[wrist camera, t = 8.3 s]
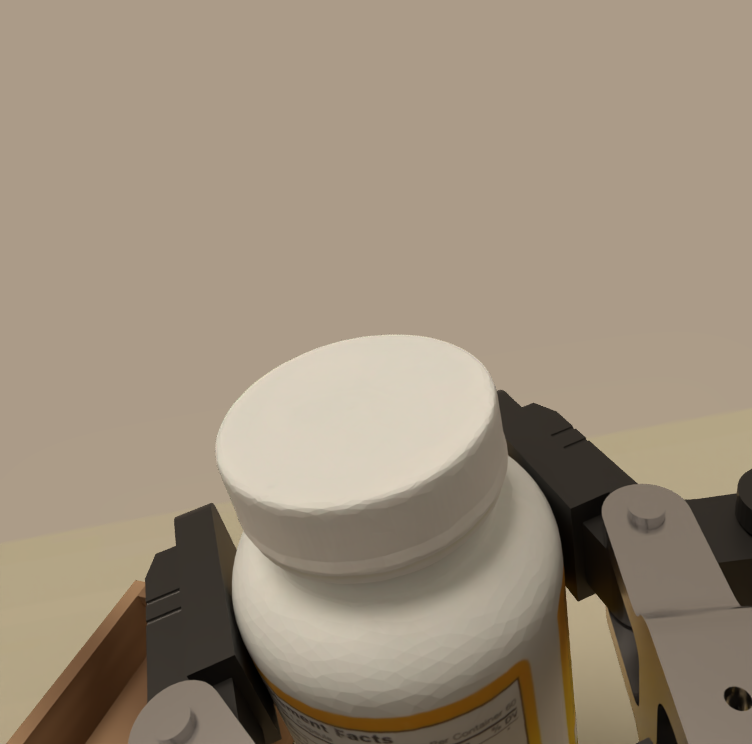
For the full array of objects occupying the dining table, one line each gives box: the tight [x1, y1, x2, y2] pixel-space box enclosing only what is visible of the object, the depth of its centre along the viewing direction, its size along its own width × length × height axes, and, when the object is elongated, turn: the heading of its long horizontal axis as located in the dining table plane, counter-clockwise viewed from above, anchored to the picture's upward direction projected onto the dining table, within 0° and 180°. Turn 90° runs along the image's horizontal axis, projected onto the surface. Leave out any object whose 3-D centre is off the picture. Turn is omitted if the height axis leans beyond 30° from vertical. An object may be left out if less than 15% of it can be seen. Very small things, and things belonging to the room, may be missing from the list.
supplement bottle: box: [215, 335, 578, 744], centre depth 11 cm, size 5×5×10 cm
